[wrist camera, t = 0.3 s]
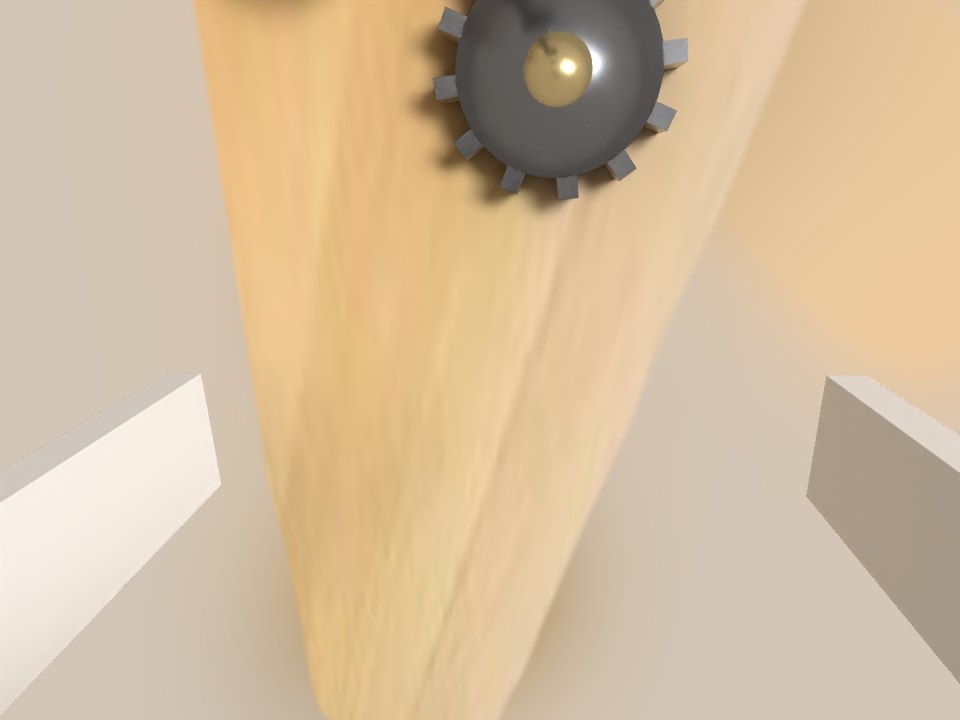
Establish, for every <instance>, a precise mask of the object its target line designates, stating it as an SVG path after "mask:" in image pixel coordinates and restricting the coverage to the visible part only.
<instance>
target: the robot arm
mask: <svg viewBox="0 0 960 720" xmlns="http://www.w3.org/2000/svg"><path fill="white" fill-rule="evenodd" d="M208 416H209V415H208V410H207V405H206V399H205V394H204V388H203V384H202V378H201V374H166V375H165V376H163V377H161V378H159V379H157V380H156V381H154V382H152V383H151V384H149V385H147V386H145V387H144V388H142V389H140V390H139V391H137V392H135V393H133V394H132V395H130V396H128V397H127V398H125V399H123V400H122V401H120V402H118V403H116V404H115V405H113V406H111V407H110V408H108V409H107V410H105V411H103V412H101V413H99V414H98V415H96V416H94V417H92V418H91V419H89V420H87V421H86V422H84V423H82V424H81V425H79V426H77V427H75V428H74V429H72V430H70V431H69V432H67V433H65V434H64V435H62V436H60V437H58V438H57V439H55V440H53V441H51V442H50V443H48V444H46V445H45V446H43V447H41V448H40V449H38V450H36V451H34V452H33V453H31V454H29V455H28V456H26V457H24V458H22V459H21V460H19V461H17V462H16V463H14V464H12V465H11V466H9V467H7V468H5V469H4V470H2V471H0V715H1V714H2V713H3V712H4V711H5V710H6V709H7V708H8V706H10V704H11V703H12V702H13V701H14V700H15V699H16V698H17V697H18V696H19V695H20V694H21V693H22V692H23V691H24V690H25V689H26V688H27V687H28V686H29V685H30V683H32V682H33V680H34V679H35V678H36V677H37V676H38V675H39V674H40V673H41V672H42V671H43V670H44V669H45V668H46V667H47V666H48V665H49V664H50V663H51V662H52V661H53V660H54V659H55V658H56V656H57V655H58V654H59V653H60V652H61V651H62V650H63V649H64V648H65V647H66V646H67V645H68V644H69V643H70V642H71V641H72V640H73V639H74V638H75V636H77V635H78V634H79V632H80V631H81V630H82V629H83V628H84V627H85V626H86V625H87V624H88V623H89V622H90V621H91V620H92V619H93V618H94V617H95V616H96V615H97V614H98V613H99V612H100V610H102V608H103V607H104V606H105V605H106V604H107V603H108V602H109V601H110V600H111V599H112V598H113V597H114V596H115V595H116V594H117V593H118V592H119V591H120V590H121V589H122V588H123V586H125V584H126V583H127V582H128V581H129V580H130V579H131V578H132V577H133V576H134V575H135V574H136V573H137V572H138V571H139V570H140V569H141V568H142V567H143V566H144V565H145V564H146V563H147V562H148V560H149V559H150V558H151V557H152V556H153V555H154V554H155V553H156V552H157V551H158V550H159V549H160V548H161V547H162V546H163V545H164V544H165V542H167V541H168V539H169V538H171V536H172V535H173V534H174V533H175V532H176V531H177V530H178V529H179V528H180V527H181V526H182V525H183V524H184V523H185V522H186V521H187V520H188V519H189V518H190V517H191V516H192V515H193V513H194V512H195V511H196V510H197V509H198V508H199V507H200V506H201V505H202V504H203V503H204V502H205V501H206V500H207V499H208V498H209V497H210V496H211V495H212V494H213V493H214V492H215V491H216V490H217V488H218V487H219V486H220V485H221V480H220V475H219V470H218V464H217V459H216V453H215V448H214V443H213V437H212V432H211V426H210V421H209V417H208ZM807 497H808V499H809V500H810V501H811V502H812V503H813V505H814V506H815V507H816V508H817V510H818V511H819V512H820V513H821V514H822V515H823V517H824V518H825V519H826V521H827V522H828V523H829V524H830V525H831V527H832V528H833V529H834V530H835V531H836V533H837V534H838V535H839V536H840V538H841V539H842V540H843V541H844V543H845V544H846V545H847V546H848V547H849V549H850V550H851V551H852V552H853V554H854V555H855V556H856V557H857V559H858V560H859V561H860V562H861V563H862V565H863V566H864V567H865V568H866V569H867V571H868V572H869V573H870V574H871V576H872V577H873V578H874V579H875V581H876V582H877V583H878V584H879V585H880V587H881V588H882V589H883V590H884V591H885V592H886V594H887V595H888V596H889V598H890V599H891V600H892V601H893V602H894V604H895V605H896V606H897V607H898V609H899V610H900V611H901V612H902V613H903V615H904V616H905V617H906V618H907V620H908V621H909V622H910V623H911V624H912V626H913V627H914V628H915V629H916V631H917V632H918V633H919V634H920V635H921V637H922V638H923V639H924V640H925V641H926V643H927V644H928V645H929V647H930V648H931V649H932V650H933V651H934V653H935V654H936V655H937V656H938V658H939V659H940V660H941V661H942V662H943V664H944V665H945V666H946V667H947V668H948V670H949V671H950V672H951V673H952V675H953V676H954V677H955V678H956V679H957V681H958V682H959V683H960V435H958V434H956V433H955V432H953V431H952V430H950V429H949V428H947V427H946V426H944V425H943V424H941V423H940V422H938V421H937V420H935V419H933V418H932V417H930V416H929V415H927V414H926V413H924V412H923V411H921V410H919V409H918V408H916V407H915V406H913V405H912V404H910V403H908V402H907V401H905V400H904V399H902V398H901V397H899V396H898V395H896V394H894V393H893V392H891V391H890V390H888V389H887V388H885V387H884V386H882V385H881V384H879V383H877V382H876V381H874V380H873V379H871V378H870V377H868V376H828V375H827V376H826V382H825V388H824V394H823V400H822V405H821V412H820V418H819V424H818V430H817V436H816V442H815V448H814V454H813V460H812V466H811V472H810V478H809V484H808V490H807Z"/></svg>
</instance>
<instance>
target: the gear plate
mask: <svg viewBox="0 0 960 720" xmlns="http://www.w3.org/2000/svg"><path fill="white" fill-rule="evenodd" d="M663 1H664V0H476V1H475V3H474V4H473V6H472V8H471V10H470V11H469V13H468V15H467V16H465V15H463V14H461V13H458V12H456V11H454V10H452V9H449V8H447V7H445V9H444V12H443V15H442V18H441V21H440V24H439V27H438V30H439V31H440V32H441V34H442V35H443V37H444V38H446V39H449V40H451V41H453V42H455V43H458V46H457V52H456V64H455V75H450V76H443V77H437V78H433V81H434V88H435V95H436V100H437V101H439V102H440V103H442V104H445V103H452V102H458V101H459V102H460V105H461V108H462V111H463V114H464V116H465V118H466V120H467V122H468V125H469V127H470V128H471V129H470V130H468V131H467V132H466V133H465V134H464V135H462V136H461V137H460V138H459V139H458V140H456V141H455V142H454V144H455V146H456V147H457V149H458V150H459V151H460V153H461V154H462V155H463V157H464V158H465V159H466V160H470V159H471V158H472V157H474V156H475V155H476V154H477V153H478V152H480V151H481V150H482V149H483V148H486V149H487V150H488V151H489V152H490V153H491V154H492V155H493V156H494V157H496V158H497V159H498V160H500V161H501V162H503V163H504V164H506V165H508V166H507V169H506V171H505V174H504V176H503V178H502V181H501V183H500V186H499V187H501V188H503V189H506V190H508V191H510V192H513V193H515V194H517V193H518V191H519V189H520V186H521V184H522V182H523V179H524V177H525V175H526V174H529V175H533V176H538V177H546V178H556V188H557V198H558V200H565V199H573V198H579V196H578V184H577V175H580V174H583V173H586V172H589V171H592V170H594V169H596V168H598V167H600V166H602V165H605V167H606V168H607V170H608V171H609V173H610V174H611V176H612V177H613V179H614V180H618V181H620V180H622V179H623V178H624V177H626V176H627V175H628V174H630V173H631V172H632V171H634V170H635V169H636V166H635V165H634V163H633V162H632V160H631V159H630V157H629V156H628V154H627V153H626V151H625V150H624V149H625V148H627V146H628V145H629V144H630V143H631V142H632V141H633V140H634V139H635V138H636V137H637V135H638V134H639V132H640V131H641V130H642V128H643V127H646V128H648V129H650V130H653V131H655V132H657V133H661V132H665V131H667V130H668V128H669V126H670V124H671V122H672V120H673V118H674V116H675V114H676V112H677V110H674V109H672V108H670V107H668V106H665V105H663V104H661V103H659V102H657V101H656V100H657V98H658V94H659V91H660V87H661V83H662V76H663V70H668V69H674V68H678V67H680V66H681V65H683V64H684V63H686V62H687V61H688V46H687V38H683V39H677V40H671V41H664V42H663V38H662V34H661V29H660V25H659V21H658V19H657V16H656V13H655V11H654V9H655V8H656V7H657V6H658V5H659V4H661V3H662V2H663Z"/></svg>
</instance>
